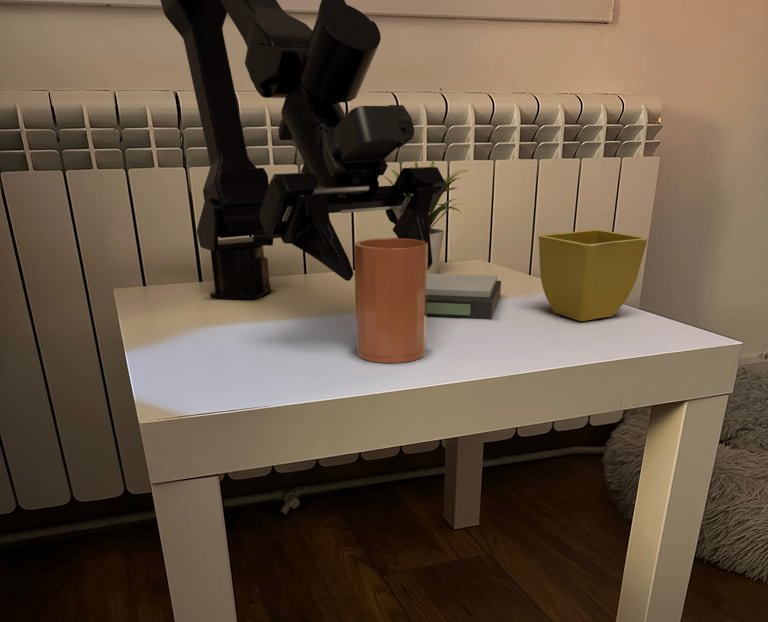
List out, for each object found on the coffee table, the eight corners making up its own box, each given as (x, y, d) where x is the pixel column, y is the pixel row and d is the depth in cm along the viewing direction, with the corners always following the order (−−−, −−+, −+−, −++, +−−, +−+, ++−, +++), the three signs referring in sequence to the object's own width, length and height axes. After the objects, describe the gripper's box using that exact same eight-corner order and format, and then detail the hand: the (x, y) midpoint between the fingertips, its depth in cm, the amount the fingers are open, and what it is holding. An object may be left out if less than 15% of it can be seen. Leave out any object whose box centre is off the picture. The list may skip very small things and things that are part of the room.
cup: (349, 361, 71) (346, 247, 66) (366, 342, 77) (364, 237, 72) (418, 365, 69) (420, 249, 64) (430, 346, 75) (432, 238, 70)
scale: (399, 315, 87) (399, 291, 86) (418, 293, 99) (419, 271, 97) (490, 319, 85) (492, 295, 84) (500, 296, 97) (501, 274, 95)
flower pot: (578, 328, 81) (588, 243, 77) (530, 312, 88) (536, 234, 84) (637, 319, 85) (649, 237, 80) (586, 304, 92) (595, 229, 87)
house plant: (475, 284, 104) (482, 157, 96) (378, 285, 103) (377, 158, 96) (464, 267, 116) (469, 153, 108) (377, 268, 116) (376, 154, 108)
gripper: (261, 68, 61) (336, 220, 58) (437, 74, 70) (508, 206, 67) (232, 168, 70) (295, 304, 67) (390, 162, 79) (451, 281, 77)
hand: (391, 272), depth 69 cm, fingers open, 9 cm apart
